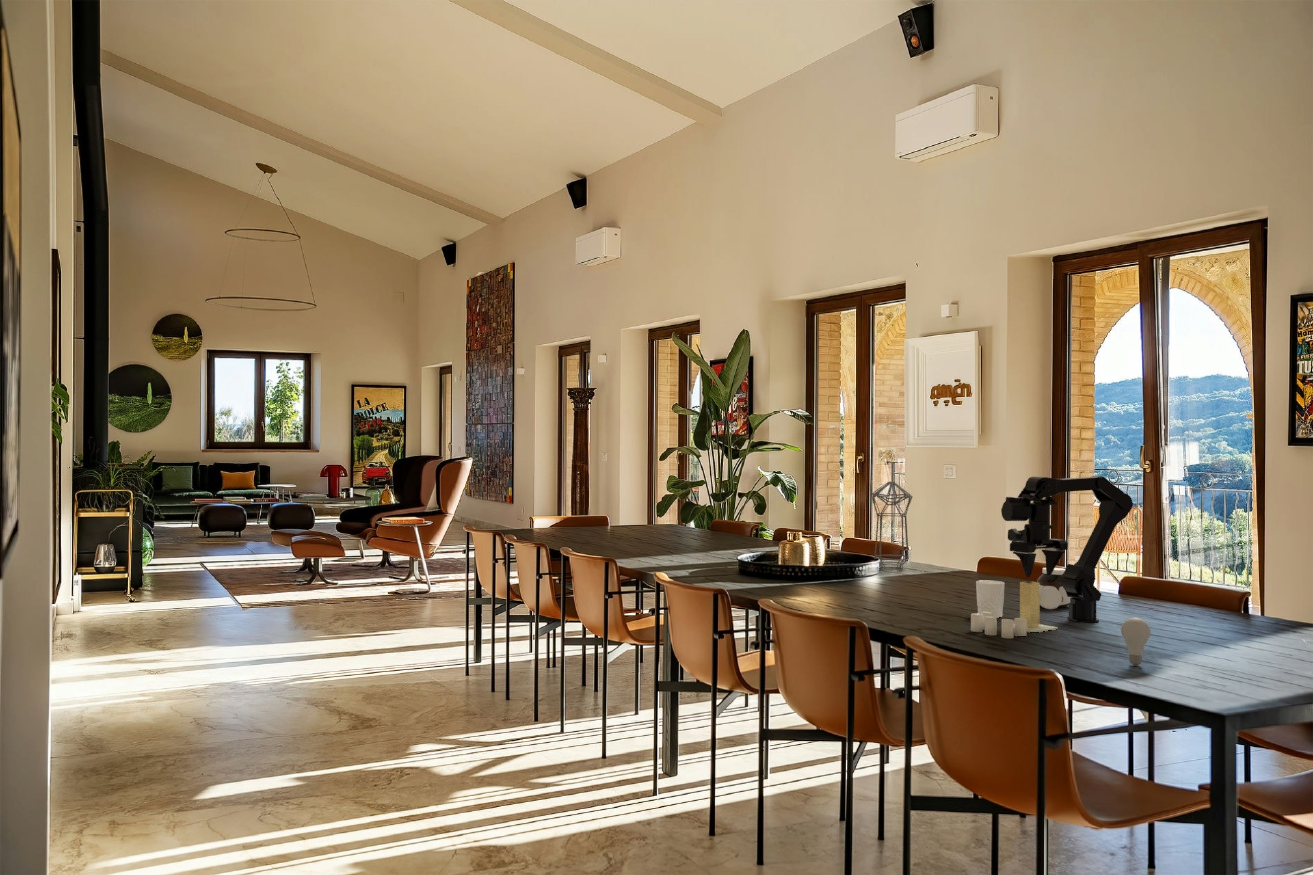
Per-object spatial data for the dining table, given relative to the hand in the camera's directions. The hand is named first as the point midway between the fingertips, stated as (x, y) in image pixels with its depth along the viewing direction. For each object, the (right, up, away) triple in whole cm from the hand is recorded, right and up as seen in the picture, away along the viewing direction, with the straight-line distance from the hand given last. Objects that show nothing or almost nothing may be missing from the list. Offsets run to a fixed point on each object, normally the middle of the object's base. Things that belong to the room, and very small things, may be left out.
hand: (1038, 576), depth 285 cm
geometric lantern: (-15, -13, +115) cm, 117 cm away
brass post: (-6, -12, -10) cm, 17 cm away
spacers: (-18, -13, -17) cm, 28 cm away
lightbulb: (+1, -13, -55) cm, 57 cm away
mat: (-6, -13, -10) cm, 17 cm away
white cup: (-11, -13, +9) cm, 19 cm away
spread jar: (+14, -13, +26) cm, 33 cm away
